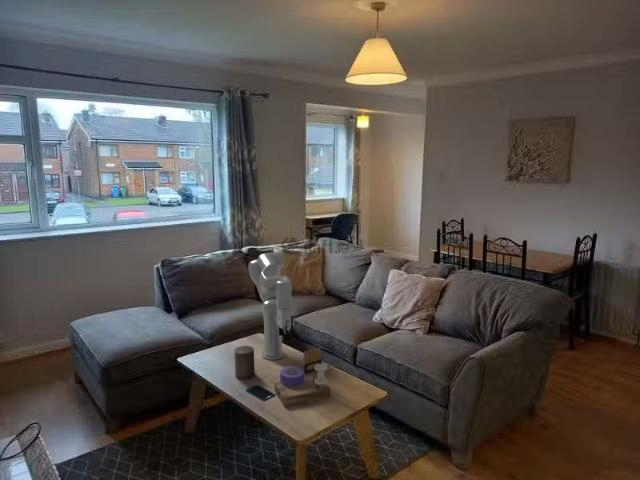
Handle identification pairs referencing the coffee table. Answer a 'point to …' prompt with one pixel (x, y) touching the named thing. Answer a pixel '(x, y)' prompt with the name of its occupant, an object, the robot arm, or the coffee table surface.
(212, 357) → the coffee table surface
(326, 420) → the coffee table surface
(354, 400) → the coffee table surface
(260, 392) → the cell phone
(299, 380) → the tape roll
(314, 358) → the ammunition clip
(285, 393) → the u-shaped wooden bracket
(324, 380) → the doorknob
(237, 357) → the pillar candle
